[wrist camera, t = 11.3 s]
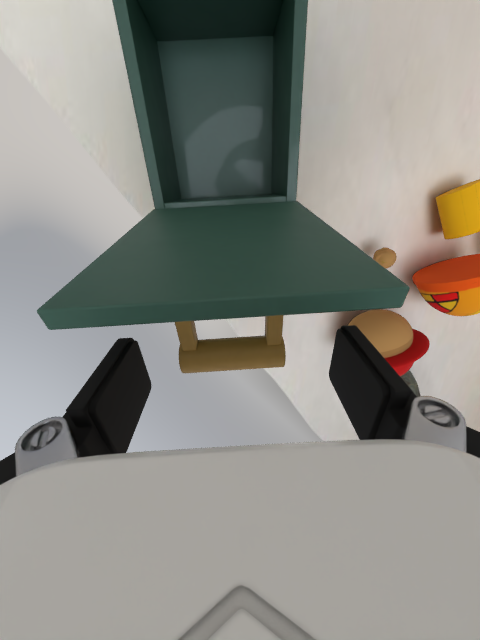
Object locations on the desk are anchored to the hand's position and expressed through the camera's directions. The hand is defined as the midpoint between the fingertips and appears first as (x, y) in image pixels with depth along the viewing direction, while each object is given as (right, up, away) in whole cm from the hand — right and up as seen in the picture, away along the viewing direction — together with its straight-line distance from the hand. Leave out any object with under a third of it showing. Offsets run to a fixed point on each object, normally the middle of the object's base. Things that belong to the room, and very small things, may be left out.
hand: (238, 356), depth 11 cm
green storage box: (-2, +21, +13) cm, 25 cm away
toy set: (+23, +8, +21) cm, 32 cm away
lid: (-1, +7, +2) cm, 7 cm away
